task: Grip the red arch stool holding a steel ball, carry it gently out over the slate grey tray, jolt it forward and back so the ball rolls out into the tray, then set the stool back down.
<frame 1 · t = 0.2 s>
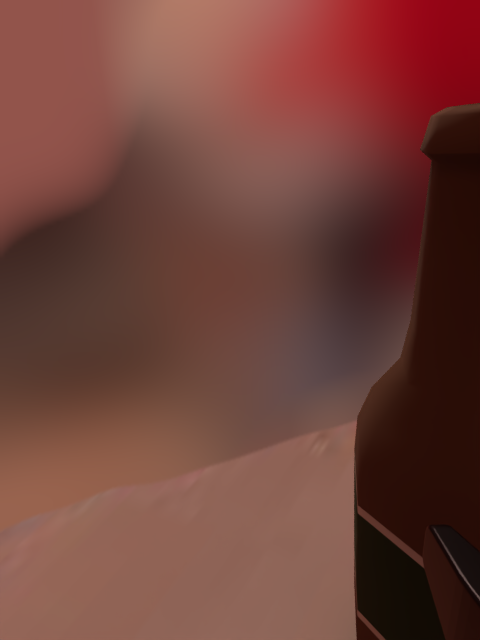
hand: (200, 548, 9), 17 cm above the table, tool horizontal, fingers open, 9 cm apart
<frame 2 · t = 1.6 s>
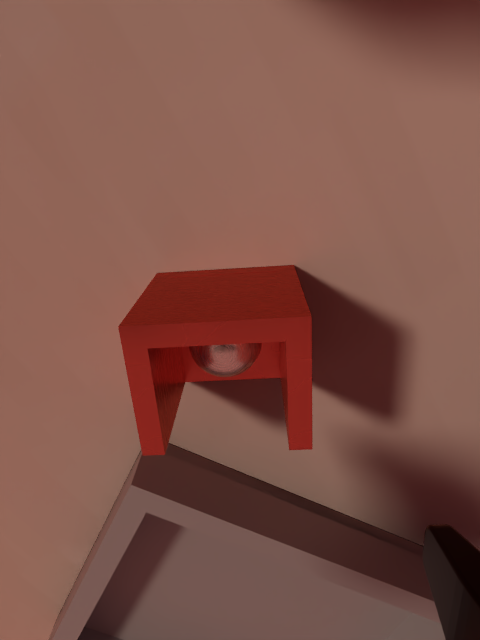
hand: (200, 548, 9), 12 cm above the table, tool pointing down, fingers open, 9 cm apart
red arch stool: (229, 321, 20), on the table, touching steel ball
slate tray: (251, 591, 27), on the table
steel ball: (225, 339, 18), point 2 cm above the table, touching red arch stool
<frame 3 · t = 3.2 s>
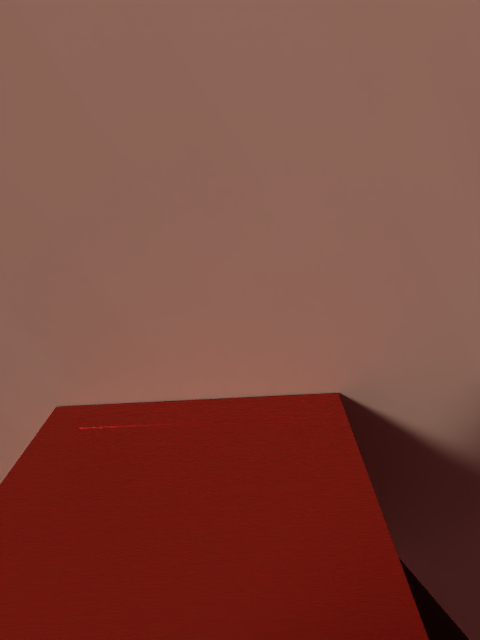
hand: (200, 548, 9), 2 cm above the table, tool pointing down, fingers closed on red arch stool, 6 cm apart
red arch stool: (206, 491, 10), on the table, touching gripper, steel ball
when the fingers open (2 cm above the table, at t = 11.9 s): red arch stool stays where it is, on the table.
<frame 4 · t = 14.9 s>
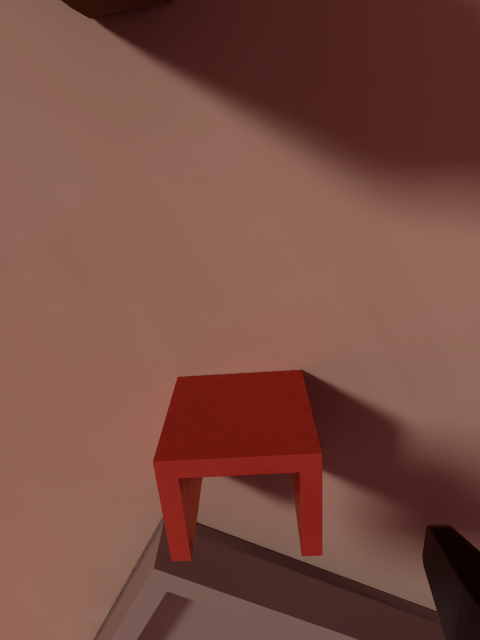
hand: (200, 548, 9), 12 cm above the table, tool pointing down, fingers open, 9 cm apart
red arch stool: (243, 416, 22), on the table
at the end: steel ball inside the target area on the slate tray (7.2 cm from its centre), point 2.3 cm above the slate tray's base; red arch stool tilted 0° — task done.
